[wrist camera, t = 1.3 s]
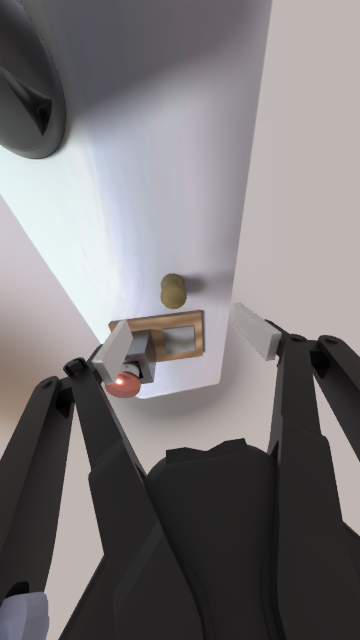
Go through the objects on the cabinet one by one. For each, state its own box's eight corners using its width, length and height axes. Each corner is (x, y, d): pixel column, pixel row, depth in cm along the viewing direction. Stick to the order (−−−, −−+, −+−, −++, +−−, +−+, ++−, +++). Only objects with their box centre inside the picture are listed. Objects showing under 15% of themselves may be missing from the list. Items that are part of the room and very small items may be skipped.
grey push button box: (115, 333, 38) (99, 358, 29) (150, 328, 38) (144, 352, 29) (125, 359, 42) (114, 387, 34) (156, 355, 43) (153, 382, 34)
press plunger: (116, 348, 34) (99, 378, 26) (143, 344, 34) (135, 373, 26) (124, 367, 37) (112, 399, 29) (149, 364, 37) (143, 395, 29)
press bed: (110, 321, 38) (107, 326, 36) (199, 310, 38) (201, 313, 36) (127, 361, 46) (124, 367, 43) (201, 351, 46) (203, 357, 44)
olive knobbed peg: (181, 271, 33) (187, 279, 23) (185, 294, 36) (191, 310, 26) (158, 276, 33) (153, 286, 24) (164, 298, 36) (162, 316, 26)
